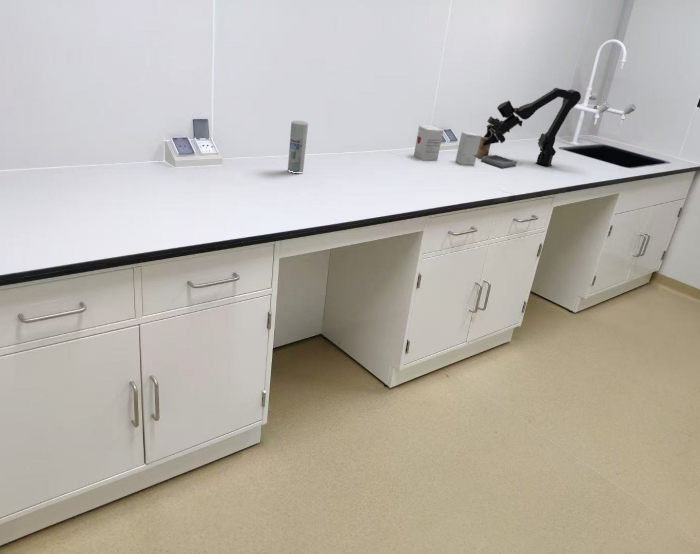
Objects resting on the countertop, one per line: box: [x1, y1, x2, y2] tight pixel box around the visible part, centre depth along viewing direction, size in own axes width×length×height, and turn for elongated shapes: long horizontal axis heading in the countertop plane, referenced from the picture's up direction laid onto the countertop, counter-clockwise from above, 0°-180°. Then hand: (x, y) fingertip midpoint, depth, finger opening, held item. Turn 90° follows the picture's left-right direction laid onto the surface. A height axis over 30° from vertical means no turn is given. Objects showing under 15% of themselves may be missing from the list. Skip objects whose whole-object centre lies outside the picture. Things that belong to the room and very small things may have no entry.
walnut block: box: [476, 136, 492, 159], centre depth 303 cm, size 5×5×10 cm
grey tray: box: [480, 154, 517, 169], centre depth 296 cm, size 13×13×2 cm
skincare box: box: [455, 131, 482, 166], centre depth 285 cm, size 8×6×15 cm
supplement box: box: [413, 124, 444, 161], centre depth 285 cm, size 9×9×15 cm
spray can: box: [287, 120, 309, 173], centre depth 232 cm, size 6×6×20 cm
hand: (481, 143), depth 302 cm, fingers closed on walnut block, 5 cm apart
